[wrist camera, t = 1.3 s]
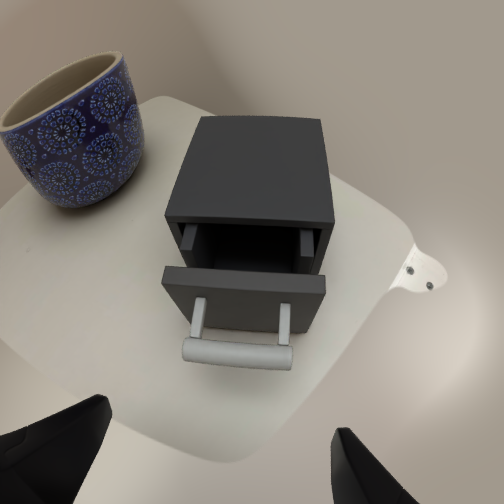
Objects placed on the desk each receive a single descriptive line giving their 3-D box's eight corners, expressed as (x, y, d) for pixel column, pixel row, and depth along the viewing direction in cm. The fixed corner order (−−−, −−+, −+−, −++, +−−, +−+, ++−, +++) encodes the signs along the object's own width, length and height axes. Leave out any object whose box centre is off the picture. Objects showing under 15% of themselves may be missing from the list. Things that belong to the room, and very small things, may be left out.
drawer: (305, 382, 20) (326, 365, 13) (183, 372, 20) (146, 349, 14) (306, 225, 27) (317, 163, 21) (210, 220, 28) (195, 160, 21)
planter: (114, 128, 40) (86, 51, 28) (180, 156, 35) (153, 50, 22) (36, 194, 34) (-12, 120, 21) (80, 247, 28) (7, 147, 15)
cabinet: (313, 289, 25) (335, 222, 17) (194, 282, 25) (163, 215, 17) (309, 191, 31) (320, 118, 23) (214, 188, 31) (200, 116, 23)
